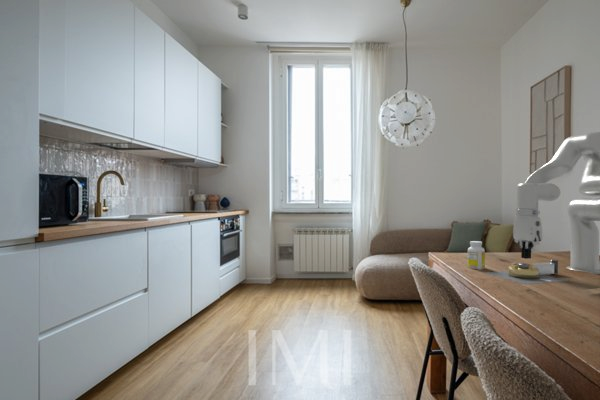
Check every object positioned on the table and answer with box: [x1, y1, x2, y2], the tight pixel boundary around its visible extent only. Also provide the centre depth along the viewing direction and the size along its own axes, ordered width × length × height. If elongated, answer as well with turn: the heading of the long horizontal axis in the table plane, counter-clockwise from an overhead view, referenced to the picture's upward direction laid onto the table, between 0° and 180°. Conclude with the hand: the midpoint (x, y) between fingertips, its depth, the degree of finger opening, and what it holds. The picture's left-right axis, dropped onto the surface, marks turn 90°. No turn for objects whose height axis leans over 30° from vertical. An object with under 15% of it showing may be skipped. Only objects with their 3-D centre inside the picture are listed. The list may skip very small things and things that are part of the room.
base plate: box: [482, 270, 570, 285], centre depth 135 cm, size 20×20×2 cm
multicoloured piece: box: [507, 259, 559, 279], centre depth 137 cm, size 21×10×5 cm, turn 105°
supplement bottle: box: [467, 240, 486, 270], centre depth 152 cm, size 7×7×13 cm
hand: (526, 258), depth 144 cm, fingers closed
